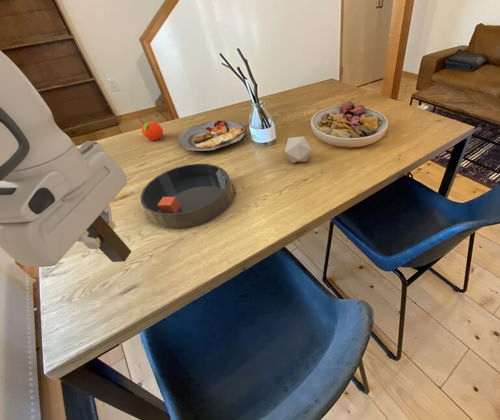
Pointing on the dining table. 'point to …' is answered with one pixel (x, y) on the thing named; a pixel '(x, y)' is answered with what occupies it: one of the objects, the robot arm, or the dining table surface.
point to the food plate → (212, 135)
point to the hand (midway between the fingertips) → (103, 237)
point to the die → (297, 149)
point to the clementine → (152, 130)
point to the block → (168, 205)
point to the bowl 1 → (188, 195)
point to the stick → (109, 240)
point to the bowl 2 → (349, 125)
